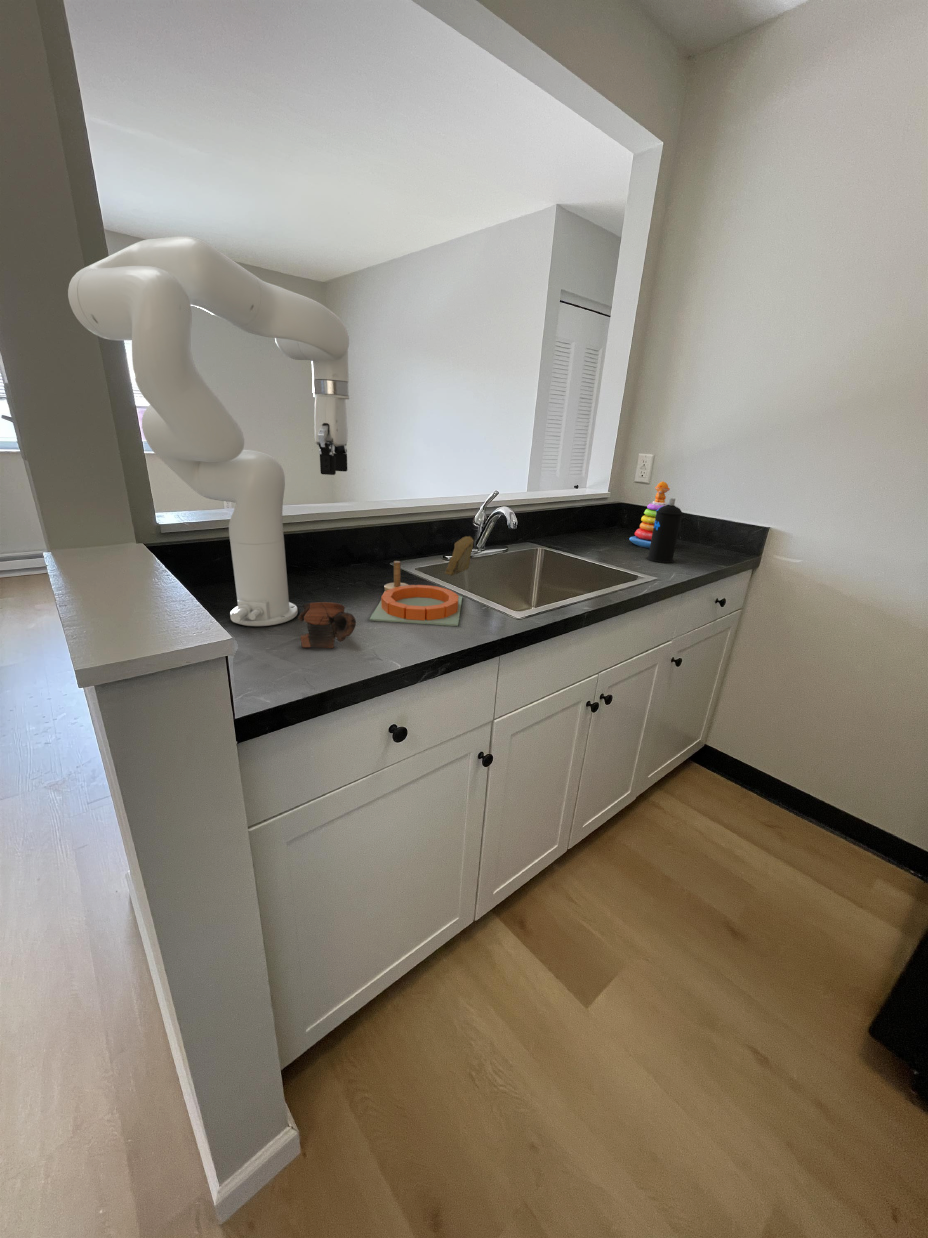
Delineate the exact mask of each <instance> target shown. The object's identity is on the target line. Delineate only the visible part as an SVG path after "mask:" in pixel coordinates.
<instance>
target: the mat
mask: <svg viewBox="0 0 928 1238" xmlns="http://www.w3.org/2000/svg"><path fill="white" fill-rule="evenodd" d="M458 596H459V599H458V610H457V612H456V613H455V614H453V615H450V616H448V617H444V618H441V619H434V620H426V619H425V620H410V619H406V618H404V619H402V618H399V617H396V616H392V615H389V614H387V613H386V612H385V611H384V610H383V609H382V607H381V600H380V601H379V603H378V605H377V606H376V607H375V609H374V611H373V612H372V614H371V616H370V617H369V621H374V622H388V623H404V624H419V625H433V626H435V625H436V626H450V627H458V626H459V622H460V617H461V610H462V604H463V595H462V596H461V595H458ZM396 602H399V603H402V604H406V605H412V606H431V605H440V604H442V603H444V602H443V601H440V600H437V599H433V598H423V597H413V598H404V599H401V600H398V601H396Z"/></svg>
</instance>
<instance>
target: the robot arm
mask: <svg viewBox="0 0 928 1238" xmlns="http://www.w3.org/2000/svg"><path fill="white" fill-rule="evenodd" d="M67 298H68V302H69V303H68V304H69V306H70V309H71V311H72V313H73V314H74V316H75V318H76V319H77V321H78V322H79V324H80V325H82V326H83V327H84V328H85V329H86V330H88V331H89V332H91V333H92V334H93V335H95V336H97V337H99V338H102V339H106V340H109V341H131V359H132V360H131V361H132V371H133V377H134V380H135V383H136V386H137V388H138V390H139V392H140V393H141V395H142V397H143V398H144V399H145V400H146V402H147V403H148V404H149V405H148V406H147V407H146V408H145V410H144V412H143V414H142V418H141V429H142V434H143V436H144V438H145V441H146V442H147V444H148V446H149V448H150V449H151V451H152V452H153V453H154V454H155V455H156V456H157V457H158V458H159V459H160V460H161V461H162V462H163V463H164V464H165V465H166V466H167V467H168V468H169V469H170V470H171V471H172V472H173V473H174V474H175V475H177V476H178V478H180V479H181V480H182V481H183V482H184V483H185V484H186V485H187V486H188V487H189V488H190V489H192V490H193V491H194V492H195V493H197V494H198V495H200V496H201V497H203V498H206V499H209V500H214V501H221V502H228V503H235V506H234V508H233V511H232V513H231V517H230V519H229V523H228V536H229V537H228V538H229V542H230V543H229V544H230V551H231V561H232V569H233V576H234V584H235V593H236V594H235V595H236V602H237V606H235V607H234V608H233V609H232V610H230V612H229V616H230V617H229V618H230V620H231V622H232V623H234V624H237V625H240V626H246V627H267V626H276V625H280V624H284V623H286V622H289V621H291V620H293V619H294V618H296V617H297V616H298V615H299V614H298V611H299V610H298V607H297V605H296V604H295V603H293V602H290V599H289V598H290V597H289V585H288V574H287V561H286V560H287V559H286V548H285V547H286V546H285V536H284V521H283V505H284V495H285V489H286V475H285V472H284V469H283V467H282V465H281V463H280V462H279V461H278V460H277V458H275V457H274V456H273V455H271V454H268V453H267V452H262V451H259V450H253V449H244V447H245V436H244V432H243V431H242V428H241V426H240V424H239V423H238V422H237V420H236V418H234V416H233V415H232V413H231V412H230V411H229V409H227V407H226V406H225V405H224V403H223V402H222V401H221V399H220V398H219V397H218V395H216V394H215V392H214V391H213V390H212V388H211V387H210V386H209V385H208V383H207V382H206V381H205V379H204V378H203V376H202V375H201V374H200V371H198V369H197V367H196V365H195V361H194V358H193V353H192V326H193V325H192V324H193V313H192V307H191V306H193V307H197V308H200V309H201V310H204V311H206V312H208V313H210V314H211V315H214V316H216V317H217V318H219V319H221V320H223V321H225V322H227V323H229V324H230V325H232V326H234V327H236V328H238V329H239V330H241V331H244V332H246V333H248V334H251V335H254V336H255V335H256V336H261V337H265V338H272V339H274V340H275V344H276V346H277V347H278V349H279V350H280V352H281V353H282V354H283V355H285V356H286V357H287V358H290V359H292V360H296V361H311V373H312V393H313V398H315V399H314V443H315V444H316V445H317V446H318V448H319V450H318V454H319V466H320V467H319V468H320V474H321V475H324V476H325V475H326V476H335V475H337V473H336V472H347V471H348V449H347V444H348V436H349V435H348V434H349V433H348V431H349V430H348V414H347V403H346V400H350V383H349V381H350V380H349V379H350V378H349V346H350V338H349V337H350V336H349V333H348V330H347V327H346V326H345V323H344V322H343V321H342V320H341V318H340V317H339V316H338V315H337V314H335V313H334V312H333V311H332V310H331V309H329V308H328V307H326V306H325V305H324V304H322V303H320V302H318V301H317V300H314V299H312V298H310V297H308V296H305V295H302V294H300V293H296V292H294V291H292V290H289V289H286V288H284V287H281V286H279V285H276V284H272V283H269V282H267V281H264V280H263V279H261V278H259V277H258V276H257V275H255V274H254V273H252V272H251V271H249V270H248V269H246V268H245V267H243V266H242V265H240V264H239V263H237V262H236V261H234V260H233V259H231V258H230V257H228V256H227V255H225V253H223V252H221V251H220V250H218V249H217V248H216V247H214V246H212V245H211V244H210V243H208V242H206V241H204V240H202V239H200V238H197V237H194V236H190V235H189V236H188V235H178V236H168V237H159V238H148V239H143V240H140V241H137V242H135V243H132V244H130V245H129V246H126V247H123V248H122V249H121V250H118V251H116V252H114V253H112V254H110V255H108V256H106V257H104V258H102V259H100V260H98V261H95V262H94V263H91V264H89V265H87V266H84V268H80V270H78V271H77V272H75V274H74V275H73V276H72V278H71V279H70V281H69V284H68V287H67Z"/></svg>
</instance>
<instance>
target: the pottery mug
mask: <svg viewBox="0 0 928 1238" xmlns="http://www.w3.org/2000/svg"><path fill="white" fill-rule="evenodd" d="M302 608H303V611H301V612H300V613H299V614H298V616H297V620H299V622H300V623H301V622H303V621H304V622H305V623H306V628H307V632H308V633H305V634H301V635H300V644H301V647H302V648H317V649H334V647H335V641H336V640H337V641H338V642H340V643H342V642H344V641H345V640H346V639H347V637H349V636H351V635H352V633H353V632H354V630H355V628H356V626H357V620H356V618H355V616H354V615H353V613H349V612H345V608H346V606H345V605H343V604H341V603H337V602H329V601H328V602H326V601H321V602H320V601H318V602H316V601H315V602H308V603H304V604H303V605H302Z"/></svg>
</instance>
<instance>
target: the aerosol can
mask: <svg viewBox="0 0 928 1238" xmlns="http://www.w3.org/2000/svg"><path fill="white" fill-rule="evenodd" d="M675 503H676V498H675V497H669V498H668V502H667V505H666V506H662V507H660V508H659V509H658V510H656V518H655V523H654V528H653V533H652V539H651V544H650V548H648V549H649V550H648V555H647V557H646V558H647V560H648V561H651V562H653V563H660V564H672V563H674V556H675V551H676V547H677V541H678V537H679V536H678V535H679V531H680V527H681V522H682V518H683V515H684V512H683V511H682V510H681V508H680V507H678V506H676V505H675Z"/></svg>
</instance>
